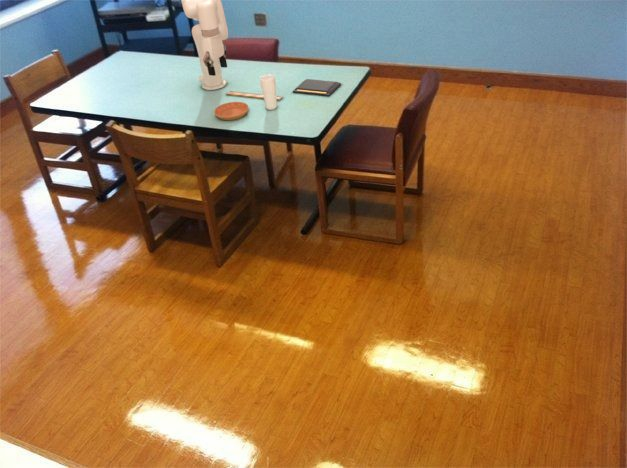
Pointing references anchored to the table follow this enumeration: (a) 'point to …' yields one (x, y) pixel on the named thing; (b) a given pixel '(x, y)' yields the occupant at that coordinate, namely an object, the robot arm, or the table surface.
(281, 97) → the ruler
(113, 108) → the table surface
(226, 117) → the saucer
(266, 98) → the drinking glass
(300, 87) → the wallet
